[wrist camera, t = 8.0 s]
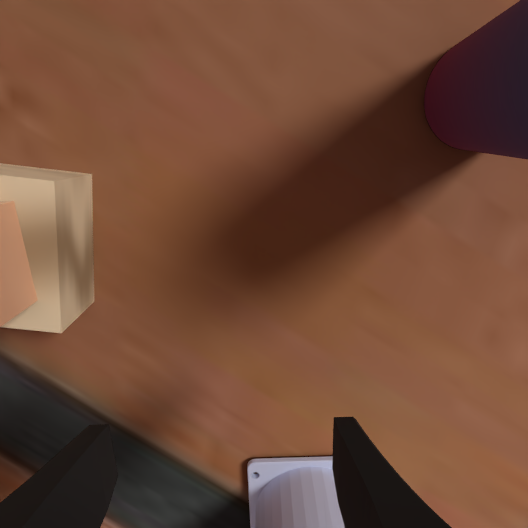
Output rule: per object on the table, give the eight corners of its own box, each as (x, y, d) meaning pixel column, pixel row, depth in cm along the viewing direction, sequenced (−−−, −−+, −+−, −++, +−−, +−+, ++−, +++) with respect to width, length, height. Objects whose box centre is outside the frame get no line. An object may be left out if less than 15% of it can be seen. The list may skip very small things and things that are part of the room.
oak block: (96, 299, 22) (61, 333, 18) (-31, 286, 21) (-94, 317, 18) (94, 173, 20) (54, 181, 16) (-47, 157, 19) (-123, 160, 16)
